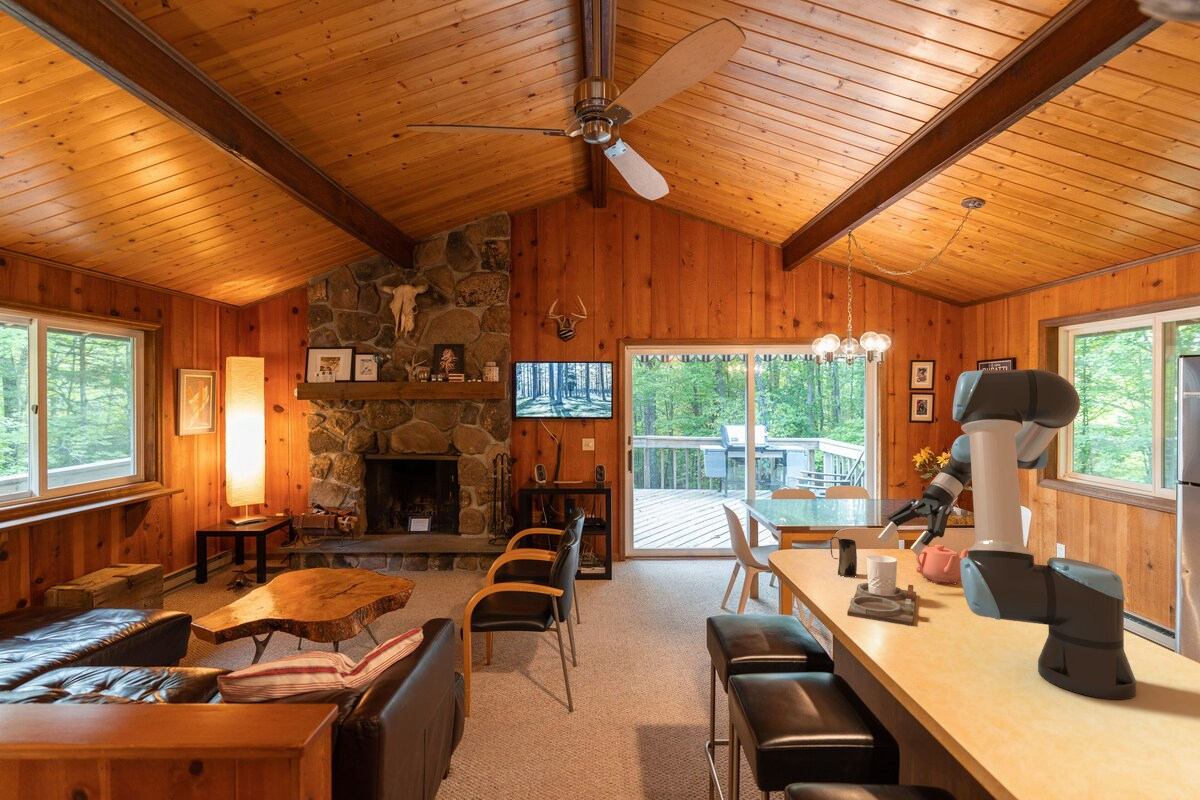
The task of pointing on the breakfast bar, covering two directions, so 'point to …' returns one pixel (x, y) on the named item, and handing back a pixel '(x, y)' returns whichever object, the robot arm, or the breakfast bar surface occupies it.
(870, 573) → the white cup
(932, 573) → the teapot
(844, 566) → the mug
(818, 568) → the breakfast bar surface
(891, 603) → the board
